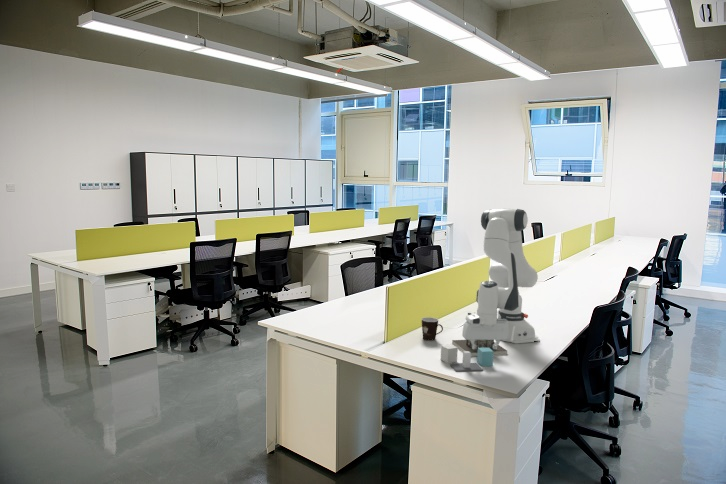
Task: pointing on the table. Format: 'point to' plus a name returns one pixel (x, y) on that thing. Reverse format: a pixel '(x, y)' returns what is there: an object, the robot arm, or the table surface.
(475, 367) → the stand
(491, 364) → the teal block
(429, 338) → the coffee mug
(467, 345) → the building model
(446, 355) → the light grey block
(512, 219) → the robot arm
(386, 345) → the table surface
